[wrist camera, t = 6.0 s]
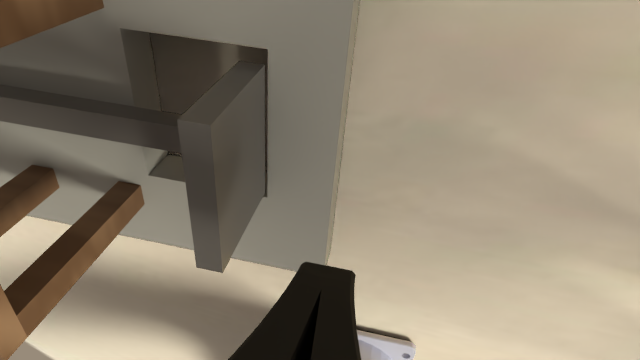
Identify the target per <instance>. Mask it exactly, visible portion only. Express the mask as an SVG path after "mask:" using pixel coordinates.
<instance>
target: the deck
mask: <svg viewBox="0 0 640 360" xmlns="http://www.w3.org/2000/svg"><path fill="white" fill-rule="evenodd" d="M359 3H360V0H103V4H104V8H102V9H100V10H97V11H95V12H92V13H90V14H87V15H84V16H82V17H79V18H77V19H74V20H72V21H69V22H66V23H64V24H61V25H59V26H56V27H54V28H51V29H48V30H46V31H43V32H41V33H38V34H36V35H33V36H30V37H28V38H25V39H23V40H20V41H18V42H15V43H12V44H10V45H7V46H5V47H2V48H0V84H1V85H7V86H13V87H19V88H26V89H32V90H38V91H44V92H50V93H56V94H62V95H68V96H74V97H80V98H86V99H92V100H98V101H104V102H110V103H116V104H122V105H128V106H134V107H140V108H146V109H152V110H158V111H161V105H160V99H159V92H158V86H157V79H156V73H155V66H154V60H153V53H152V46H151V40H150V33H149V32H151V33H158V34H165V35H172V36H179V37H186V38H193V39H200V40H207V41H214V42H221V43H228V44H235V45H242V46H249V47H256V48H263V49H268V172H265V194H264V196H263V198H262V199H261V201H260V203H259V205H258V207H257V209H256V211H255V213H254V215H253V216H252V218H251V220H250V222H249V224H248V226H247V228H246V230H245V232H244V234H243V235H242V237H241V239H240V241H239V243H238V245H237V247H236V249H235V251H234V252H233V254H232V256H231V258H234V259H238V260H243V261H248V262H253V263H258V264H263V265H267V266H272V267H277V268H282V269H287V270H291V271H296V272H297V271H298V269H299V267H300V266H301V264H302V263H304V262H311V263H316V264H321V265H327V261H328V257H329V254H330V249H331V241H332V232H333V224H334V215H335V207H336V198H337V190H338V181H339V173H340V164H341V156H342V147H343V139H344V130H345V122H346V113H347V105H348V96H349V88H350V79H351V71H352V62H353V54H354V45H355V37H356V28H357V20H358V11H359ZM31 165H37V166H42V167H48V168H53V169H54V172H55V175H56V178H57V181H58V184H59V187H60V188H59V189H57V190H56V191H55V192H54V193H53V194H51V195H50V196H49V197H48V198H47V199H45V200H44V201H43V202H42V203H41V204H39V205H38V206H37V207H36V208H34V209H33V210H32V211H31V212H30V213H28V214H27V215H26V216H31V217H36V218H41V219H45V220H50V221H55V222H60V223H65V224H69V225H73V224H74V223H75V222H76V221H77V220H78V219H79V218H81V217H82V216H83V215H84V214H85V213H86V212H87V211H88V210H89V209H90V208H91V207H92V206H93V205H94V204H95V203H96V202H97V201H98V200H99V199H100V198H101V197H102V196H103V195H104V194H105V193H106V192H108V191H109V190H110V189H111V188H112V187H113V186H114V185H115V184H116V183H117V182H118V181H121V182H126V183H132V184H137V185H141V189H142V194H143V199H144V203H145V204H144V206H143V207H142V208H141V209H140V210H139V211H138V212H137V214H136V215H135V216H134V217H133V218H132V219H131V220H130V221H129V223H128V224H127V225H126V226H125V227H124V228H123V229H122V231H121V232H120V233H119V234H118V235H123V236H127V237H132V238H137V239H142V240H147V241H152V242H156V243H161V244H166V245H171V246H176V247H180V248H185V249H190V250H194V244H193V236H192V229H191V221H190V214H189V206H188V198H187V191H186V183H185V176H184V168H183V161H182V157H180V156H174V155H169V154H168V151H165V150H160V149H154V148H149V147H143V146H137V145H132V144H126V143H120V142H115V141H109V140H104V139H98V138H92V137H87V136H81V135H76V134H70V133H64V132H59V131H53V130H47V129H42V128H36V127H31V126H25V125H19V124H14V123H8V122H3V121H0V187H1V186H3V185H4V184H6V183H7V182H8V181H10V180H11V179H13V178H14V177H15V176H17V175H18V174H20V173H21V172H22V171H24V170H25V169H27V168H28V167H29V166H31Z"/></svg>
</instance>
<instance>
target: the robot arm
mask: <svg viewBox="0 0 640 360" xmlns="http://www.w3.org/2000/svg"><path fill="white" fill-rule="evenodd" d="M354 283H355V274H354V273H353V272H352V271H350V270H345V269H340V268H336V267H331V266H326V265H321V264H316V263H311V262H304V263H302V264H301V266H300V267H299V269H298V271H297V273H296V274H295V276H294V278H293V279H292V281H291V282H290V284H289V285H288V287H287V288H286V290H285V291H284V293H283V294H282V295H281V297H280V298H279V300H278V301H277V302H276V304H275V305H274V306H273V308H272V309H271V310H270V311H269V313H268V314H267V315H266V317H265V318H264V319H263V320H262V322H261V323H260V324H259V325H258V327H257V328H256V329H255V330H254V331H253V332H252V333H251V335H250V336H249V337H248V338H247V339H246V340H245V341H244V343H243V344H242V345H241V346H240V347H239V348H238V349H237V351H236V352H235V353H234V354H233V355H232V356H231V357H230V358H229V359H228V360H413V359H414V356H415V353H416V346H415V344H414V343H412V342H410V341H406V340H401V339H396V338H392V337H387V336H383V335H378V334H374V333H369V332H365V331H360V330H357V328H356V319H355V306H354Z"/></svg>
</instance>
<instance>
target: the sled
mask: <svg viewBox="0 0 640 360" xmlns="http://www.w3.org/2000/svg"><path fill="white" fill-rule="evenodd" d="M0 121H3V122H8V123H14V124H19V125H25V126H31V127H36V128H42V129H47V130H53V131H59V132H64V133H70V134H76V135H81V136H87V137H92V138H98V139H104V140H109V141H115V142H120V143H126V144H132V145H137V146H143V147H149V148H154V149H160V150H165V151H171V152H177V153H182V161H183V168H184V176H185V183H186V191H187V198H188V206H189V214H190V221H191V229H192V236H193V244H194V252H195V259H196V267H197V268H202V269H207V270H211V271H216V272H221V273H223V271H224V269H225V268H226V266H227V264H228V262H229V260H230V258H231V256H232V254H233V252H234V251H235V249H236V247H237V245H238V243H239V241H240V239H241V237H242V235H243V234H244V232H245V230H246V228H247V226H248V224H249V222H250V220H251V218H252V216H253V215H254V213H255V211H256V209H257V207H258V205H259V203H260V201H261V199H262V198H263V196H264V194H265V65H263V64H256V63H249V62H243V61H239V62H238V63H237V64H236V65H235V66H233V67H232V68H231V69H230V70H229V71H228V72H227V73H226V74H225V75H224V76H223V77H222V78H221V79H220V80H219V81H218V82H217V83H215V84H214V85H213V86H212V87H211V88H210V89H209V90H208V91H207V92H206V93H205V94H204V95H203V96H202V97H201V98H200V99H199V100H197V101H196V102H195V103H194V104H193V105H192V106H191V107H190V108H189V109H188V110H187V111H186V112H185V113H184V114H183V115H182V114H176V113H170V112H164V111H158V110H152V109H146V108H140V107H134V106H128V105H122V104H116V103H110V102H104V101H98V100H92V99H86V98H80V97H74V96H68V95H62V94H56V93H50V92H44V91H38V90H32V89H26V88H19V87H13V86H7V85H1V84H0Z"/></svg>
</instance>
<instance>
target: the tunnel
mask: <svg viewBox="0 0 640 360" xmlns="http://www.w3.org/2000/svg"><path fill="white" fill-rule="evenodd" d="M102 8H104V4H103V0H0V48H2V47H5V46H7V45H10V44H12V43H15V42H18V41H20V40H23V39H25V38H28V37H30V36H33V35H36V34H38V33H41V32H43V31H46V30H48V29H51V28H54V27H56V26H59V25H61V24H64V23H66V22H69V21H72V20H74V19H77V18H79V17H82V16H84V15H87V14H90V13H92V12H95V11H97V10H100V9H102ZM59 188H60V187H59V184H58V181H57V178H56V175H55V172H54V169H53V168H48V167H42V166H37V165H31V166H29V167H28V168H27V169H25V170H24V171H22V172H21V173H20V174H18V175H17V176H15V177H14V178H13V179H11V180H10V181H8V182H7V183H6V184H4V185H3V186H1V187H0V237H1V236H2V235H3V234H4V233H6V232H7V231H8V230H9V229H10V228H12V227H13V226H14V225H15V224H16V223H18V222H19V221H20V220H21V219H22V218H24V217H25V216H26V215H27V214H28V213H30V212H31V211H32V210H33V209H34V208H36V207H37V206H38V205H39V204H41V203H42V202H43V201H44V200H45V199H47V198H48V197H49V196H50V195H51V194H53V193H54V192H55V191H56V190H57V189H59ZM144 204H145V203H144V199H143V194H142V189H141V185H137V184H132V183H126V182H121V181H118V182H117V183H116V184H115V185H114V186H113V187H112V188H111V189H110V190H109V191H108V192H106V193H105V194H104V195H103V196H102V197H101V198H100V199H99V200H98V201H97V202H96V203H95V204H94V205H93V206H92V207H91V208H90V209H89V210H88V211H87V212H86V213H85V214H84V215H83V216H82V217H81V218H79V219H78V220H77V221H76V222H75V223H74V224H73V225H72V226H71V227H70V228H69V229H68V230H67V231H66V232H65V233H64V234H63V235H62V236H61V237H60V238H59V239H58V240H57V241H56V242H55V243H54V244H52V245H51V246H50V247H49V248H48V249H47V250H46V251H45V252H44V253H43V254H42V255H41V256H40V257H39V258H38V259H37V260H36V261H35V262H34V263H33V264H32V265H31V266H30V267H29V268H28V269H27V270H26V271H24V272H23V273H22V274H21V275H20V276H19V277H18V278H17V279H16V280H15V281H14V282H13V283H12V284H11V285H10V286H9V287H8V288H7V289H6V290H5V291H3V289H2V287H1V285H0V360H8V359H9V357H10V356H11V355H12V354H13V353H14V352H15V351H16V350H17V348H18V347H19V346H20V345H21V344H22V343H23V342H24V341H25V339H26V338H27V337H28V336H29V335H30V334H31V333H32V331H33V330H34V329H35V328H36V327H37V326H38V325H39V324H40V322H41V321H42V320H43V319H44V318H45V317H46V316H47V314H48V313H49V312H50V311H51V310H52V309H53V308H54V307H55V305H56V304H57V303H58V302H59V301H60V300H61V299H62V297H63V296H64V295H65V294H66V293H67V292H68V291H69V290H70V288H71V287H72V286H73V285H74V284H75V283H76V282H77V280H78V279H79V278H80V277H81V276H82V275H83V274H84V273H85V271H86V270H87V269H88V268H89V267H90V266H91V265H92V263H93V262H94V261H95V260H96V259H97V258H98V257H99V255H100V254H101V253H102V252H103V251H104V250H105V249H106V248H107V246H108V245H109V244H110V243H111V242H112V241H113V240H114V238H115V237H116V236H117V235H118V234H119V233H120V232H121V231H122V229H123V228H124V227H125V226H126V225H127V224H128V223H129V221H130V220H131V219H132V218H133V217H134V216H135V215H136V214H137V212H138V211H139V210H140V209H141V208H142V207H143V206H144Z"/></svg>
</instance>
